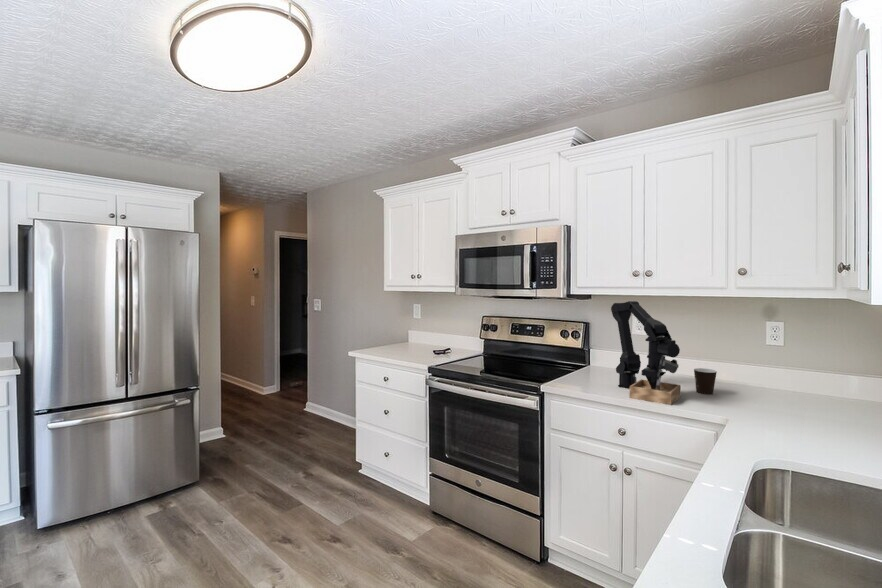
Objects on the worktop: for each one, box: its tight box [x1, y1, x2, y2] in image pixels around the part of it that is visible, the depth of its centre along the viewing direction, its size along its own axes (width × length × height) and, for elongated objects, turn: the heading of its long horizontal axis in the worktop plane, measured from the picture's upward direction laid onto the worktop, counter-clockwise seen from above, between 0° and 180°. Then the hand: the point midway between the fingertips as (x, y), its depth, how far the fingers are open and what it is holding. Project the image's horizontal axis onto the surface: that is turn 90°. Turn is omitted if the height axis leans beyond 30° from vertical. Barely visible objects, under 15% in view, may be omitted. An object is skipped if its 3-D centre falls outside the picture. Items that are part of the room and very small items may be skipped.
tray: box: [628, 379, 682, 406], centre depth 190 cm, size 16×16×5 cm
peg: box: [655, 377, 661, 390], centre depth 190 cm, size 4×4×8 cm
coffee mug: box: [693, 367, 718, 396], centre depth 198 cm, size 12×9×10 cm
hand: (655, 389), depth 190 cm, fingers closed on peg, 4 cm apart
